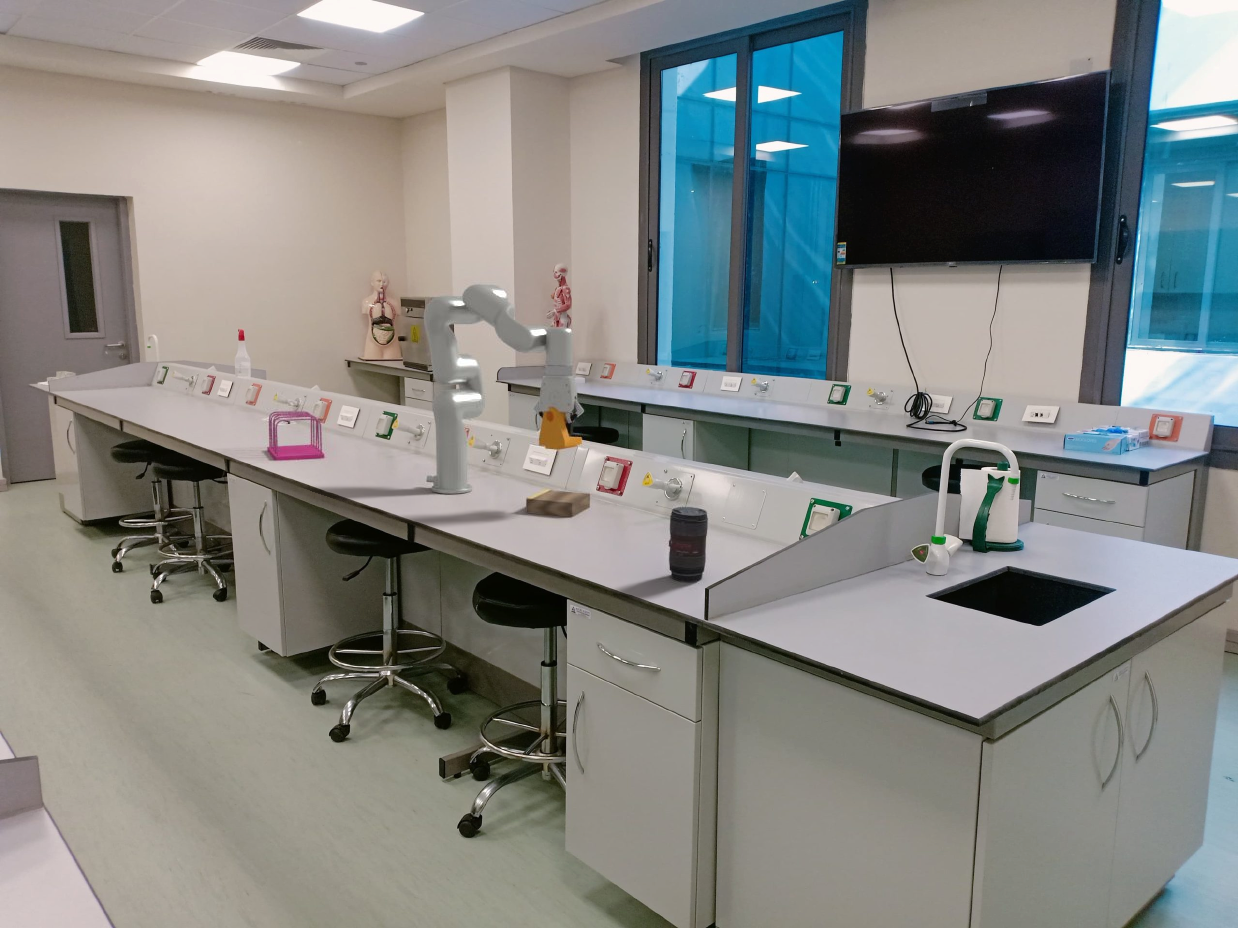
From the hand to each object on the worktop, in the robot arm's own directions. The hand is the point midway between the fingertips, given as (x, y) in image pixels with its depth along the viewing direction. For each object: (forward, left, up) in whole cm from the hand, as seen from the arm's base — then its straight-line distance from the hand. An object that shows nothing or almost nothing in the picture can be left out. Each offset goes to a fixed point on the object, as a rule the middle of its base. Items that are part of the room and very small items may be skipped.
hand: (558, 435), depth 256 cm
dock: (0, 0, -22) cm, 22 cm away
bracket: (+1, 0, -4) cm, 4 cm away
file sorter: (-128, +48, -22) cm, 138 cm away
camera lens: (+51, -51, -22) cm, 76 cm away
